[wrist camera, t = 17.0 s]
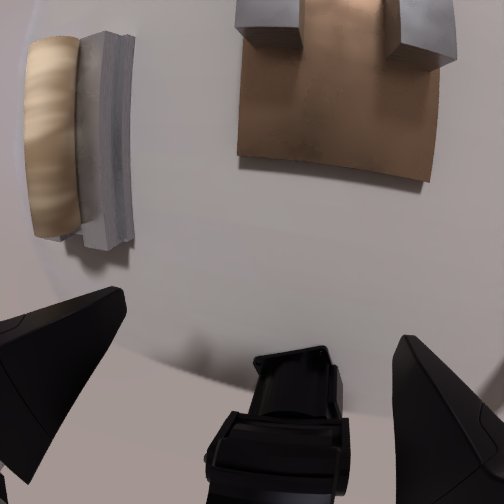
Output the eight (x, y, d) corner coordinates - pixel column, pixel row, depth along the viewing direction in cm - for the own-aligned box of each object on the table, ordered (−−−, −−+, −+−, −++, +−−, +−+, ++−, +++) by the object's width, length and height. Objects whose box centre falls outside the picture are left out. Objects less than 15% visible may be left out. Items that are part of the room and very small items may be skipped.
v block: (134, 237, 23) (112, 252, 20) (61, 226, 24) (40, 238, 22) (134, 36, 16) (110, 28, 14) (56, 60, 18) (32, 59, 15)
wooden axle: (91, 222, 20) (55, 240, 17) (59, 217, 21) (25, 234, 18) (90, 40, 15) (51, 33, 11) (57, 53, 16) (19, 51, 12)
